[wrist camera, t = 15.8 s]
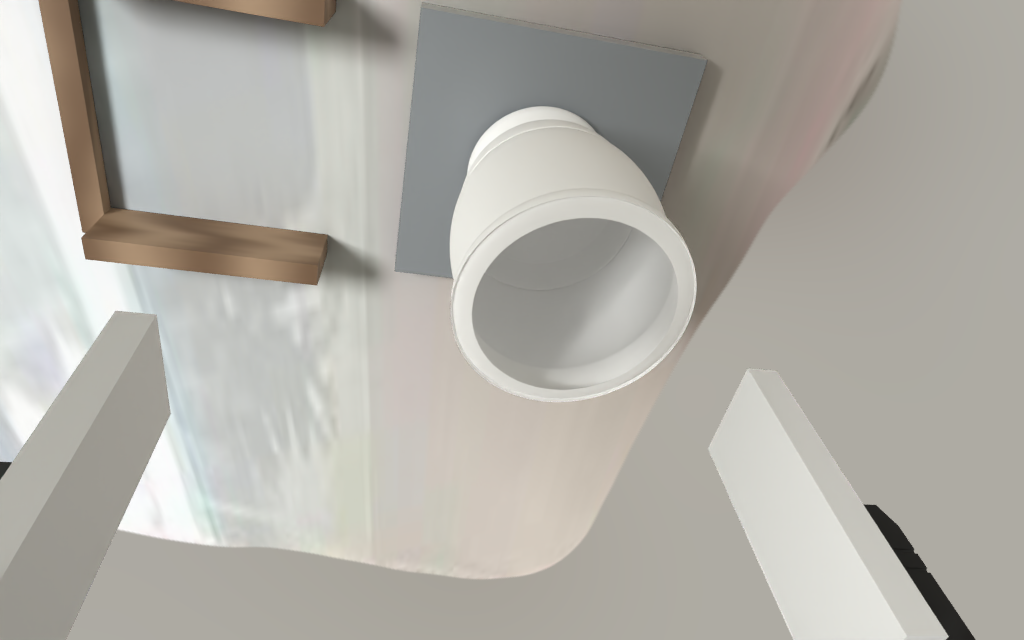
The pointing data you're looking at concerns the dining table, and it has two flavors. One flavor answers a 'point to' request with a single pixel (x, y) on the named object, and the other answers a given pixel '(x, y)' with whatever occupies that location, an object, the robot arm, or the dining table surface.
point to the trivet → (522, 84)
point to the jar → (563, 262)
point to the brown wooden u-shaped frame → (162, 234)
